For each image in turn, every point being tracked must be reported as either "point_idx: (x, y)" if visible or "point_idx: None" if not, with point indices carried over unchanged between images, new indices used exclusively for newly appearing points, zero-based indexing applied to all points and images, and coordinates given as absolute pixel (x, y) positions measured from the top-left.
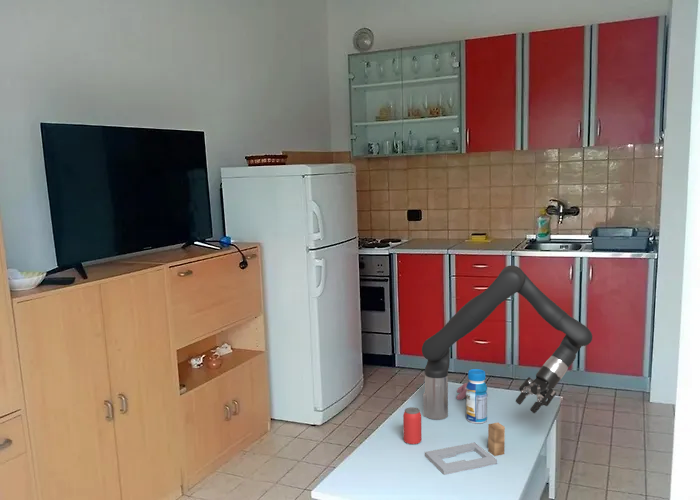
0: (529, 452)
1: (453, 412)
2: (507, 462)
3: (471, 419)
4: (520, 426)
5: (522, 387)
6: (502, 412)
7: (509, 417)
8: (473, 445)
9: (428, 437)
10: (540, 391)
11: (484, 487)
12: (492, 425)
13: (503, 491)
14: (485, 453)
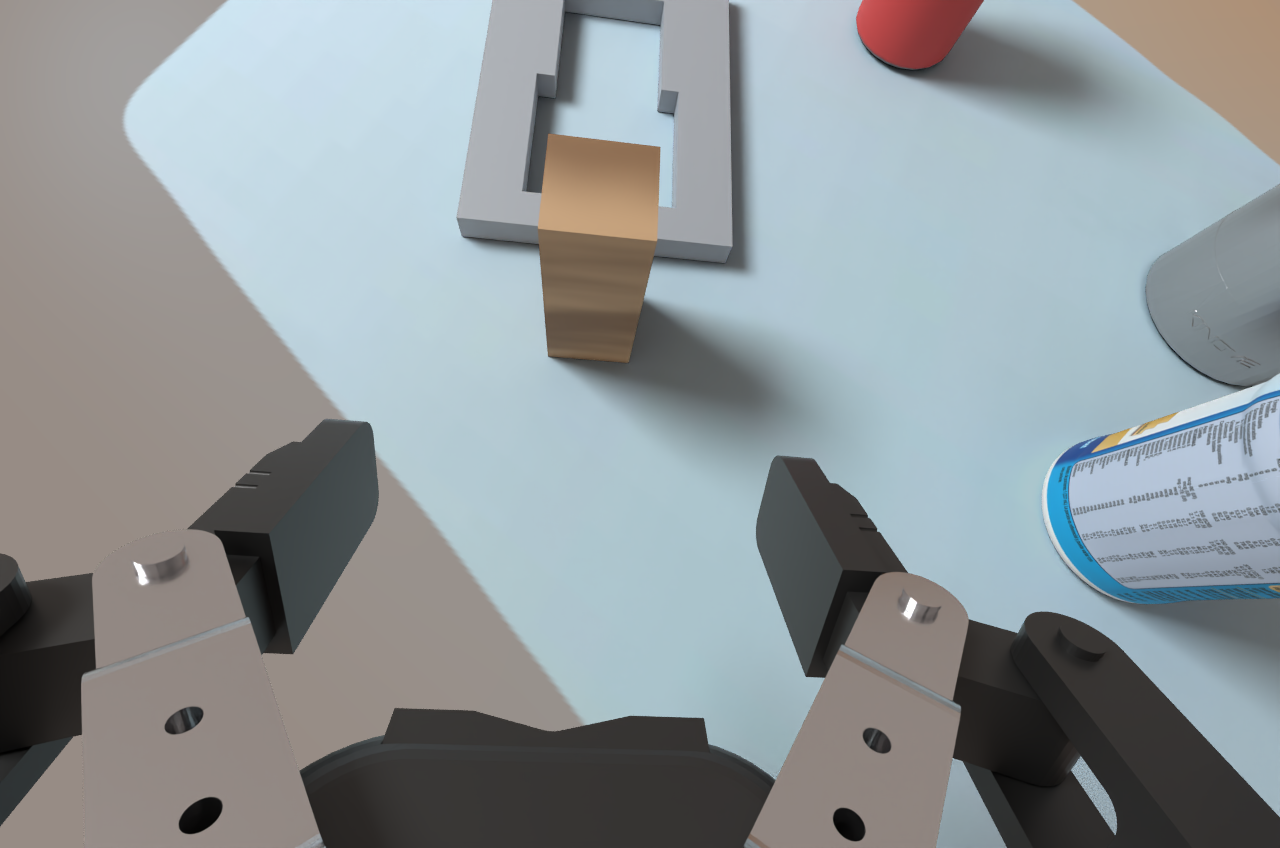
0: (482, 534)
1: None
2: (442, 302)
3: (1085, 442)
4: None
5: (1069, 689)
6: None
7: None
8: (695, 214)
9: (920, 120)
10: (88, 822)
11: (283, 37)
12: (618, 158)
13: (184, 82)
14: None
